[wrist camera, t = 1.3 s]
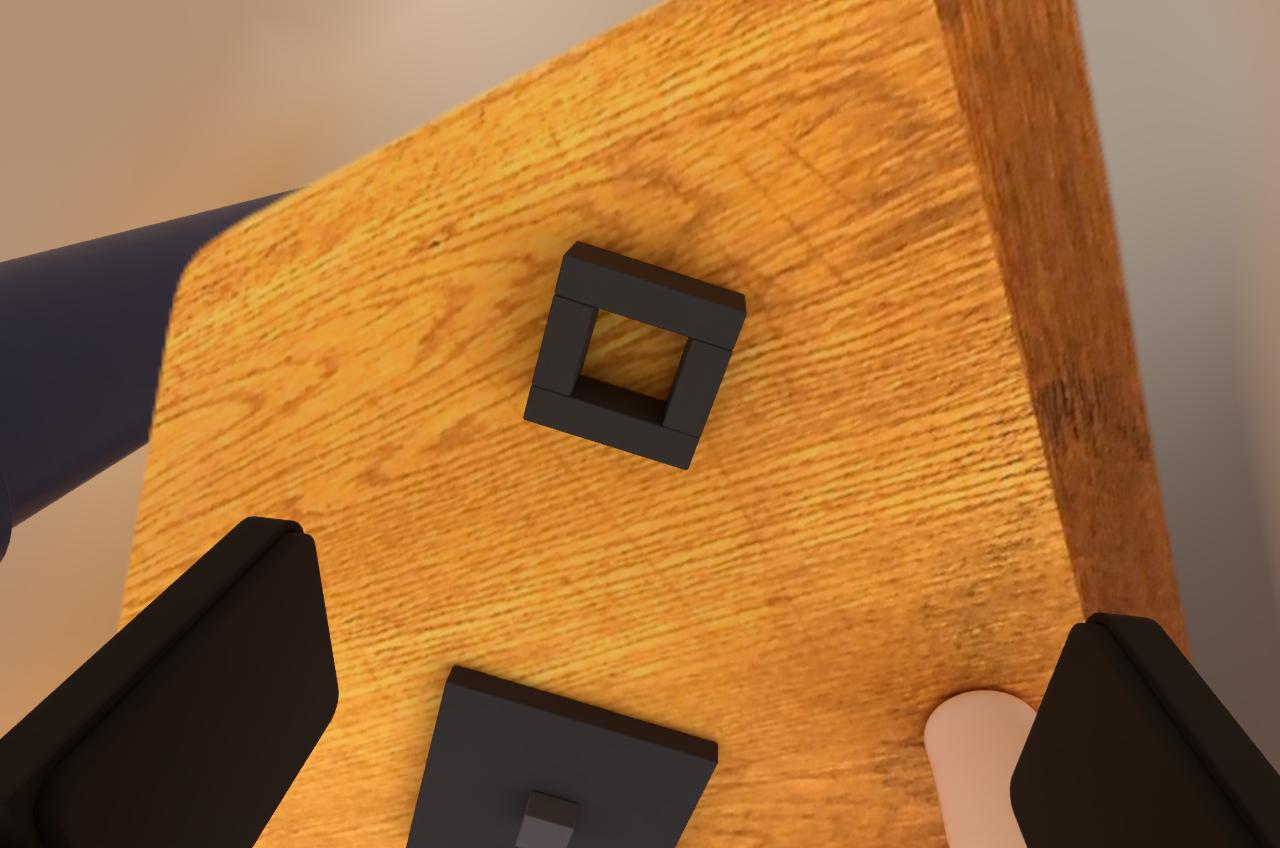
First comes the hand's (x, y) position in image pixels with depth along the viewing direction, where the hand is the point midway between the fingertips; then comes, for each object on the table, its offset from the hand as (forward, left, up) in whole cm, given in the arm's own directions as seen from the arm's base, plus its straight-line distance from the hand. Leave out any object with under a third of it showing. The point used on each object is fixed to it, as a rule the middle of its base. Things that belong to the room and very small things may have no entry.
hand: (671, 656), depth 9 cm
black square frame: (-2, -3, -20) cm, 20 cm away
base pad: (+1, -29, -20) cm, 36 cm away
